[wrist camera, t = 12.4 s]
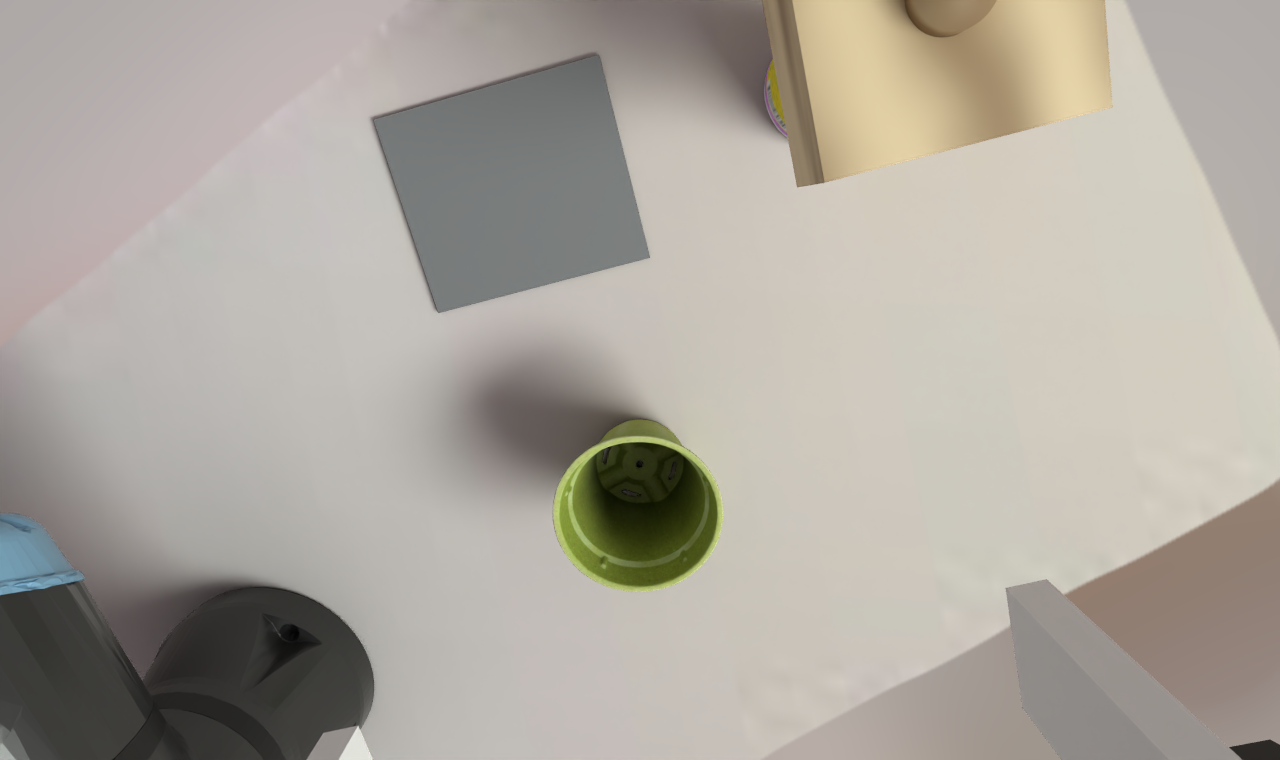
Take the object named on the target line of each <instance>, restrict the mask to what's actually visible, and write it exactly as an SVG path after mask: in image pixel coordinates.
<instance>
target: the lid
mask: <svg viewBox="0 0 1280 760" xmlns="http://www.w3.org/2000/svg"><path fill="white" fill-rule="evenodd" d="M762 3H763V8H764V14H765V19H766V24H767V30H768V35H769V40H770V46H771V51H772V56H773V61H774V67H775V72H776V77H777V83H778V88H779V93H780V99H781V104H782V109H783V115H784V120H785V125H786V130H787V136H788V141H789V146H790V152H791V157H792V162H793V168H794V173H795V178H796V184H797V187H802V186H808V185H814V184H819V183H825V182H829V181H833V180H836V179H840V178H844V177H848V176H852V175H856V174H859V173H863V172H867V171H871V170H875V169H879V168H882V167H886V166H890V165H894V164H898V163H901V162H905V161H909V160H913V159H917V158H921V157H924V156H928V155H932V154H936V153H940V152H944V151H947V150H951V149H955V148H959V147H963V146H967V145H970V144H974V143H978V142H982V141H986V140H989V139H993V138H997V137H1001V136H1005V135H1009V134H1012V133H1016V132H1020V131H1024V130H1028V129H1032V128H1035V127H1039V126H1043V125H1047V124H1051V123H1055V122H1058V121H1062V120H1066V119H1070V118H1074V117H1077V116H1081V115H1085V114H1089V113H1093V112H1097V111H1100V110H1104V109H1108V108H1112V107H1113V106H1112V93H1111V79H1110V65H1109V51H1108V38H1107V24H1106V10H1105V0H762Z"/></svg>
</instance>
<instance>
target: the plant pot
mask: <svg viewBox="0 0 1280 760" xmlns="http://www.w3.org/2000/svg"><path fill="white" fill-rule="evenodd" d="M610 446H611V448H610V451H609V454H608V457H607V463H606V464H604V463H603V462H602V460H603V453H604V450H605V448H607V447H610ZM638 461H642V462H643V466H642V467H641V468H638V467H637V466H636V463H637V462H638ZM674 461H675V462H676V463H677V466H676V470H675V472H676V473H675V476H674V477H673V479H671V480H669V479H668V477H669V475H670V472H671V468H672V463H673V462H674ZM622 489H626V490H629V491H632V492H636V493H637V494H639V493H640V494H641V495H640V496H628V495H626V494H624V493H623V492H622ZM553 523H554V528H555V532H556V536H557V539H558V541H559V544H560V546H561V547H562V549H563V551H564V553H565V554H566V556H567V557H568V559H569V560H570V561H571V562H572V563H573V565H574V566H575V567H576V568H577V569H578V570H579V571H581V572H582V573H583V574H584V575H586V576H587V577H589V578H590V579H592V580H594V581H596V582H598V583H600V584H602V585H604V586H607V587H610V588H613V589H617V590H623V591H630V592H646V591H653V590H659V589H663V588H667V587H669V586H672V585H675V584H677V583H679V582H681V581H683V580H685V579H686V578H688V577H689V576H690V575H692V574H693V573H694V572H695V571H697V570H698V569H699V568H700V567H701V566H702V565H703V564H704V563H705V561H706V560H707V559H708V558H709V557H710V555H711V554H712V552H713V550H714V548H715V546H716V544H717V542H718V539H719V536H720V533H721V529H722V524H723V503H722V498H721V494H720V491H719V488H718V485H717V483H716V481H715V479H714V477H713V475H712V474H711V472H710V470H709V469H708V468H707V466H706V465H705V464H704V463H703V462H702V461H701V460H700V459H699V458H698V457H697V456H696V455H695V454H693V453H692V452H691V451H690V450H688V449H686V448H685V447H683V446H682V445H681V443H680V441H679V440H678V439H677V437H676V436H675V435H674V434H673V433H672V432H671V431H670V430H669V429H668V428H666V427H665V426H663V425H661V424H659V423H657V422H654V421H650V420H642V419H638V420H630V421H626V422H624V423H621V424H619V425H617V426H615V427H614V428H612V429H611V430H610V431H608V432H607V433H606V434H605V436H604V437H603V438H602V439H601V441H600V442H599V443H598V444H596V445H594V446H592V447H590V448H589V449H587V450H586V451H585V452H583V453H582V454H581V455H580V456H578V457H577V458H576V459H575V460H574V461H573V462H572V463H571V464H570V466H569V467H568V468H567V470H566V471H565V473H564V474H563V476H562V478H561V480H560V482H559V485H558V487H557V490H556V493H555V498H554V503H553Z"/></svg>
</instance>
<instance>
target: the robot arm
mask: <svg viewBox="0 0 1280 760" xmlns="http://www.w3.org/2000/svg"><path fill="white" fill-rule="evenodd" d="M83 579H85V577H84V575H83V574H82V573H81V572H80V571H78V570H74V569H73V567H72V566H71V565H70V563H69V562H68V561H67V559H66V558H65V557H64V555H63V554H62V553H61V551H60V550H59V548H58V547H57V545H56V544H55V542H54V541H53V540H52V538H51V537H50V535H49V534H48V532H47V531H46V530H45V529H44V527H43V526H42V525H41V524H39V523H38V522H37V521H35V520H33V519H31V518H29V517H27V516H24V515H20V514H14V513H0V760H373V759H372V756H371V754H370V752H369V749H368V747H367V745H366V742H365V740H364V738H363V736H362V733H361V731H360V729H361V728H362V726H363V724H364V722H365V721H366V719H367V717H368V714H369V712H370V709H371V706H372V702H373V696H374V678H373V672H372V668H371V664H370V661H369V659H368V656H367V654H366V652H365V650H364V648H363V646H362V644H361V643H360V641H359V640H358V638H357V637H356V635H355V634H354V633H353V632H352V630H351V629H350V628H349V627H348V626H347V625H346V624H345V623H344V622H343V621H342V620H341V619H340V618H338V617H337V616H336V615H335V614H333V613H332V612H331V611H329V610H328V609H326V608H325V607H323V606H322V605H320V604H318V603H316V602H314V601H312V600H310V599H308V598H306V597H303V596H301V595H298V594H295V593H291V592H288V591H283V590H278V589H271V588H246V589H239V590H234V591H230V592H226V593H224V594H221V595H218V596H216V597H214V598H212V599H210V600H208V601H207V602H205V603H204V604H202V605H201V606H200V607H198V608H197V609H196V610H195V611H194V612H192V613H191V614H190V615H189V616H188V617H187V618H186V619H184V620H183V621H182V622H181V623H180V624H179V625H178V626H177V627H176V628H175V629H174V630H173V631H172V632H171V633H170V634H169V635H168V637H167V638H166V639H165V641H164V642H163V644H162V645H161V647H160V649H159V651H158V653H157V656H156V658H155V660H154V662H153V664H152V666H151V667H150V669H149V671H148V672H147V674H146V676H145V677H144V679H143V681H142V680H141V678H140V677H139V675H138V674H137V672H136V670H135V669H134V667H133V666H132V664H131V662H130V661H129V659H128V657H127V656H126V654H125V653H124V651H123V649H122V647H121V646H120V644H119V642H118V641H117V639H116V637H115V636H114V634H113V632H112V630H111V629H110V627H109V625H108V624H107V622H106V620H105V619H104V617H103V615H102V613H101V612H100V610H99V608H98V607H97V605H96V603H95V602H94V600H93V598H92V596H91V595H90V593H89V591H88V590H87V588H86V586H85V585H84V583H83V581H82V580H83ZM1006 594H1007V601H1008V608H1009V615H1010V623H1011V630H1012V637H1013V644H1014V651H1015V659H1016V666H1017V673H1018V680H1019V687H1020V695H1021V702H1022V708H1023V709H1024V711H1025V712H1026V713H1027V715H1028V716H1029V717H1030V719H1031V720H1032V721H1033V723H1034V724H1035V725H1036V726H1037V728H1038V729H1039V731H1040V732H1041V733H1042V735H1043V736H1044V737H1045V739H1046V740H1047V741H1048V743H1049V744H1050V745H1051V747H1052V748H1053V749H1054V750H1055V752H1056V753H1057V755H1058V756H1059V757H1060V758H1061V760H1280V745H1279V744H1277V743H1275V742H1273V741H1272V740H1265V741H1260V742H1255V743H1250V744H1244V745H1239V746H1233V747H1228V746H1227V745H1226V744H1225V743H1224V742H1222V741H1221V740H1220V739H1219V738H1218V737H1217V736H1216V735H1215V734H1214V733H1213V732H1211V731H1210V730H1209V729H1208V728H1207V727H1206V726H1205V725H1204V724H1203V723H1202V722H1201V721H1200V720H1199V719H1198V718H1197V717H1195V716H1194V715H1193V714H1192V713H1191V712H1190V711H1189V710H1188V709H1187V708H1186V707H1185V706H1184V705H1182V704H1181V703H1180V702H1179V701H1178V700H1177V699H1176V698H1175V697H1174V696H1173V695H1172V694H1171V693H1169V692H1168V691H1167V690H1166V689H1165V688H1164V687H1163V686H1162V685H1161V684H1160V683H1159V682H1157V681H1156V680H1155V679H1154V678H1153V677H1152V676H1151V675H1150V674H1149V673H1148V672H1146V671H1145V670H1144V669H1143V668H1142V667H1141V666H1140V665H1139V664H1138V663H1137V662H1136V661H1135V660H1134V659H1133V658H1131V657H1130V656H1129V655H1128V654H1127V653H1126V652H1125V651H1124V650H1123V649H1122V648H1121V647H1120V646H1118V645H1117V644H1116V643H1115V642H1114V641H1113V640H1112V639H1111V638H1110V637H1109V636H1107V634H1105V633H1104V632H1103V631H1102V630H1101V629H1100V628H1099V627H1098V626H1097V625H1095V623H1093V622H1092V621H1091V620H1090V619H1089V618H1088V617H1087V616H1086V615H1085V614H1084V613H1083V612H1081V611H1080V610H1079V609H1078V608H1077V607H1076V606H1075V605H1074V604H1073V603H1072V602H1071V601H1070V600H1069V599H1067V598H1066V597H1065V596H1064V595H1063V594H1062V593H1061V592H1060V591H1059V590H1058V589H1057V588H1056V587H1055V586H1053V585H1052V584H1051V583H1050V582H1049V581H1048V580H1047V579H1046V580H1042V581H1037V582H1032V583H1028V584H1023V585H1018V586H1013V587H1009V588H1006Z"/></svg>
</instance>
